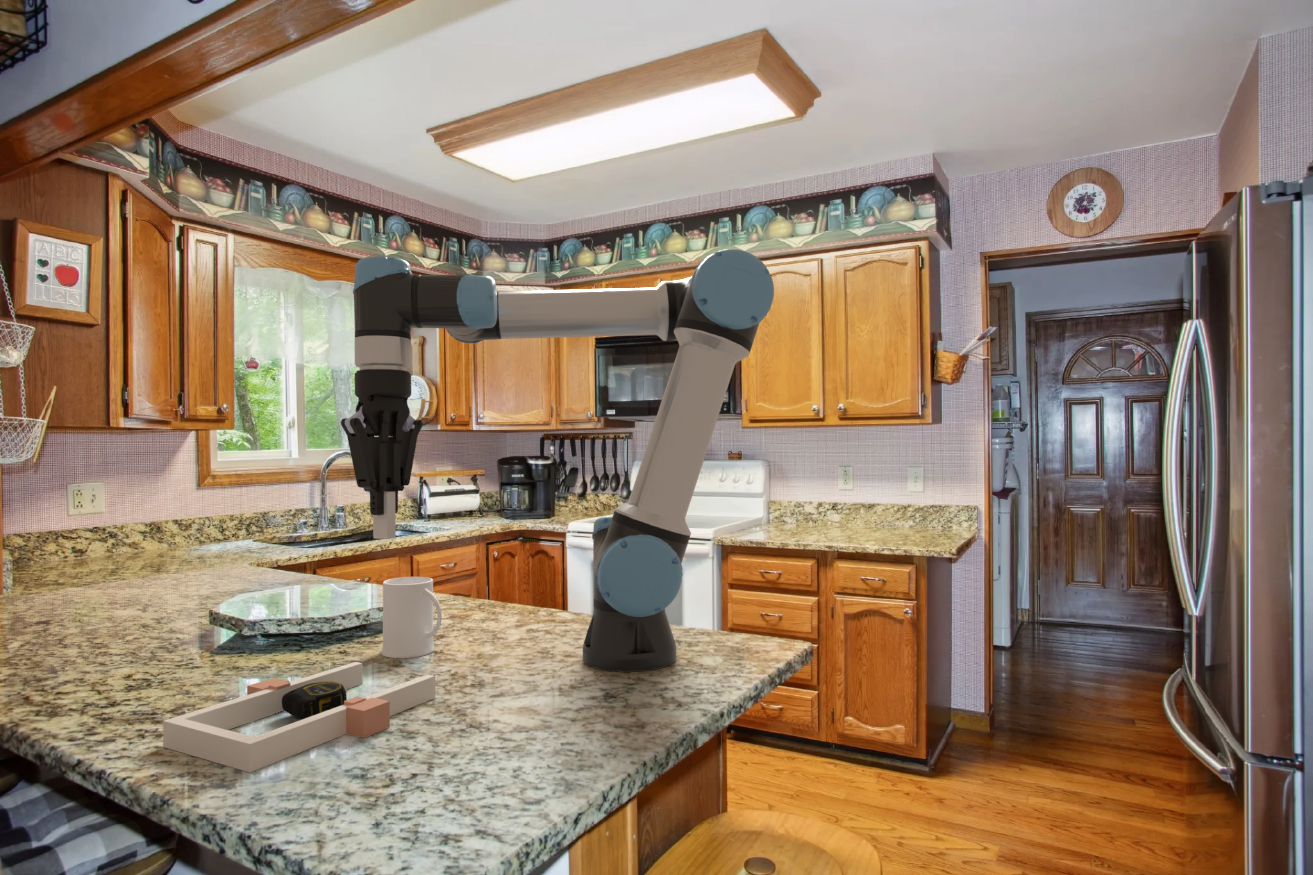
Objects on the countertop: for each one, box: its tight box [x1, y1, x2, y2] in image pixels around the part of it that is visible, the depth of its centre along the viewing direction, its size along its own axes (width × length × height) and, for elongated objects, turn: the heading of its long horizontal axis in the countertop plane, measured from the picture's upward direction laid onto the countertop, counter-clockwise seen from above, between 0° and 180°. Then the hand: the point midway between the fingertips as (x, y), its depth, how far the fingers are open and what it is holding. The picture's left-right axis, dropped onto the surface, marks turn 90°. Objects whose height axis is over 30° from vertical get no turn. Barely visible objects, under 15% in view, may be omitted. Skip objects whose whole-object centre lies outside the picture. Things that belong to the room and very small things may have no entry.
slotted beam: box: [162, 661, 436, 773], centre depth 99 cm, size 22×28×3 cm
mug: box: [380, 576, 443, 659], centre depth 131 cm, size 12×8×12 cm
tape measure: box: [282, 682, 348, 720], centre depth 100 cm, size 7×7×4 cm
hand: (384, 538), depth 109 cm, fingers closed
